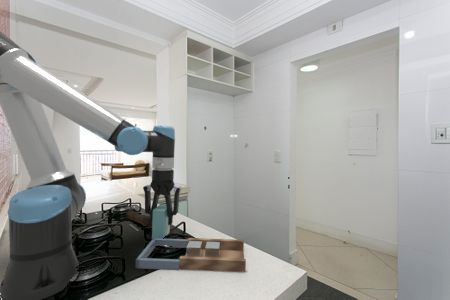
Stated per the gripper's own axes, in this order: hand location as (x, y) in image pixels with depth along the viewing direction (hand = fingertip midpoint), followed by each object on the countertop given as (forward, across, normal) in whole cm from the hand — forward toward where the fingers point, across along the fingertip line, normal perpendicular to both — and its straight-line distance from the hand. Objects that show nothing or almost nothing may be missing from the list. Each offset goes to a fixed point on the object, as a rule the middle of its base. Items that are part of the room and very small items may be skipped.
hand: (161, 232), depth 77 cm
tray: (+3, +6, -13) cm, 14 cm away
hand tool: (+3, -14, +15) cm, 21 cm away
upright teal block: (+1, 0, 0) cm, 1 cm away
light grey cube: (+1, +20, -13) cm, 24 cm away
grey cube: (+1, +15, -13) cm, 19 cm away
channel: (+2, +21, -13) cm, 24 cm away
